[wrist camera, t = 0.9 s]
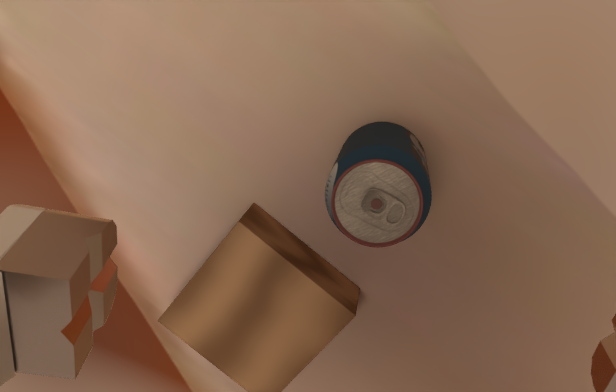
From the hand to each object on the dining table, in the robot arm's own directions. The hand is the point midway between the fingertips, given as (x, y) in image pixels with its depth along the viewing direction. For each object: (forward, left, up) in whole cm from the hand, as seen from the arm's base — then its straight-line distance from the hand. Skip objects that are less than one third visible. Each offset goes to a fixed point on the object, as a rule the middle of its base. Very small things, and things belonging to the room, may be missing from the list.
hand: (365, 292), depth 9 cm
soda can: (-4, +6, -38) cm, 39 cm away
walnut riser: (-4, +22, -38) cm, 44 cm away
